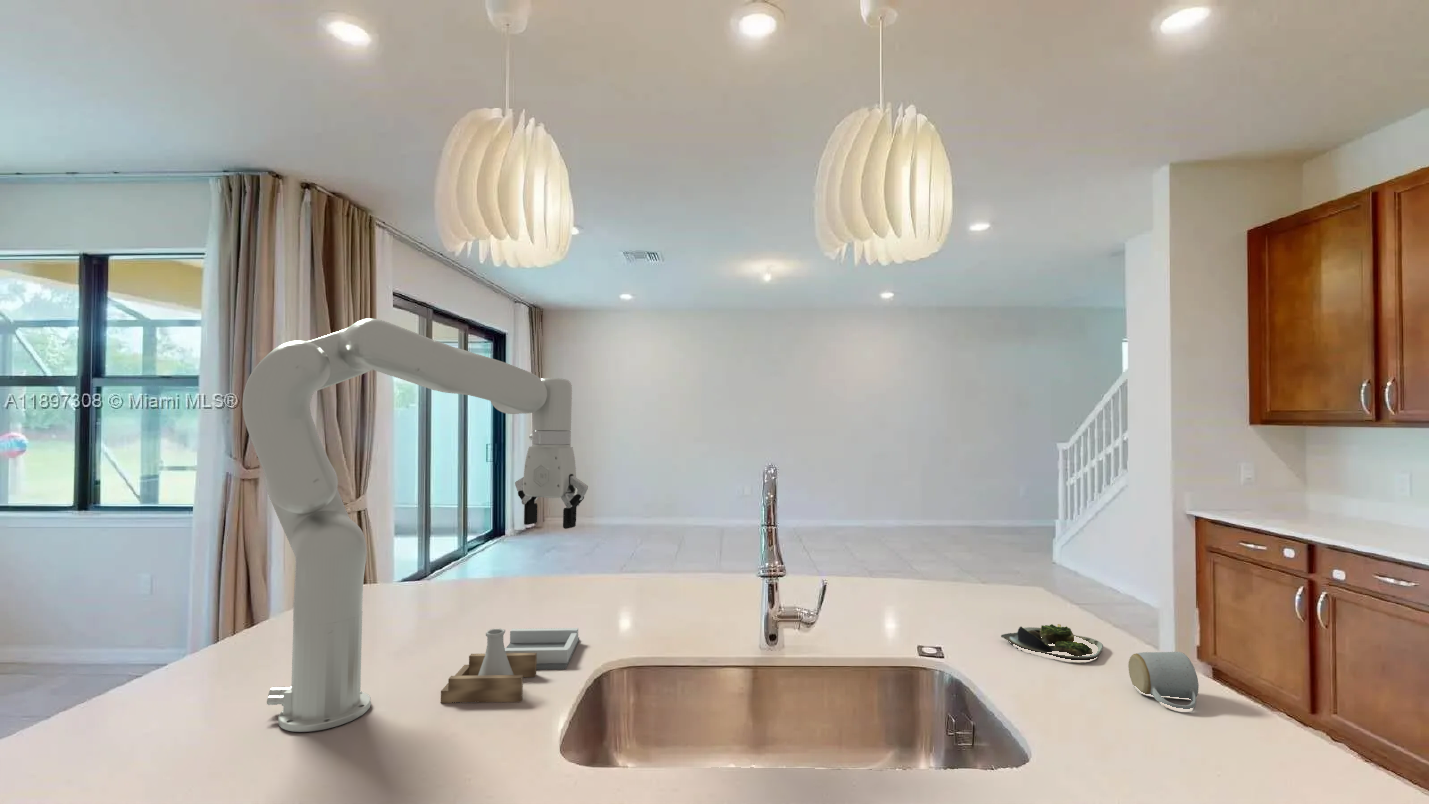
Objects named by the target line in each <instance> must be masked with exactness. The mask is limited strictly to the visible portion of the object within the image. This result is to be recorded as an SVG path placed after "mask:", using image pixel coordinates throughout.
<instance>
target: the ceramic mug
mask: <svg viewBox="0 0 1429 804" xmlns="http://www.w3.org/2000/svg"><path fill="white" fill-rule="evenodd" d="M1127 664H1128V666H1127V667H1128V674H1129V675H1128V676H1129V678H1130V681H1131V683H1132V685H1134V686H1136V687H1137V688H1138V689H1139V690H1140V691H1141V692H1143V693H1145V694H1151V695H1153V696H1154V698H1153V699H1155V701H1157V702H1158V701H1159V702H1162V703H1164V704H1167V705H1170V706H1172V707H1176V708H1183V709H1190V708H1193V707H1195V708H1196V704H1197V697H1198V695H1199V689H1200V688H1199V686H1200V685H1199V678H1198V675H1197V671H1196V669H1195V667H1194V664H1193V663H1192V661H1191V660H1190V657H1188V656H1187V654H1185V653H1183V652H1182V651H1157V652H1156V651H1152V652H1151V651H1150V652H1148V651H1146V652H1137V653H1133V654H1132V655H1131V656H1130V657H1129V660H1128V663H1127ZM1134 686H1133V687H1134ZM1161 696H1170V697H1179V698H1189V699H1191V702H1190V703H1189V704H1187V705H1185V704H1183V705H1181V704H1177V703H1173V702H1170V701H1168V700H1167V699H1166V698H1163V697H1161ZM1159 702H1158V703H1159Z"/></svg>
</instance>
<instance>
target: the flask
mask: <svg viewBox="0 0 1429 804" xmlns="http://www.w3.org/2000/svg"><path fill="white" fill-rule="evenodd" d="M505 633H506V629H503V628H492V629H489V630H487V631H486V632H485V636H486V638H487V642H486V648H485V652H484V654H485V657H484V660H483V663H482V666H481V669H480V671H479V674H478V675H514V674H513V672H512V669H511V667H510V664H509V661H508V658H507V655H506V652H505V648H506V647H505V643H504V634H505Z"/></svg>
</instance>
